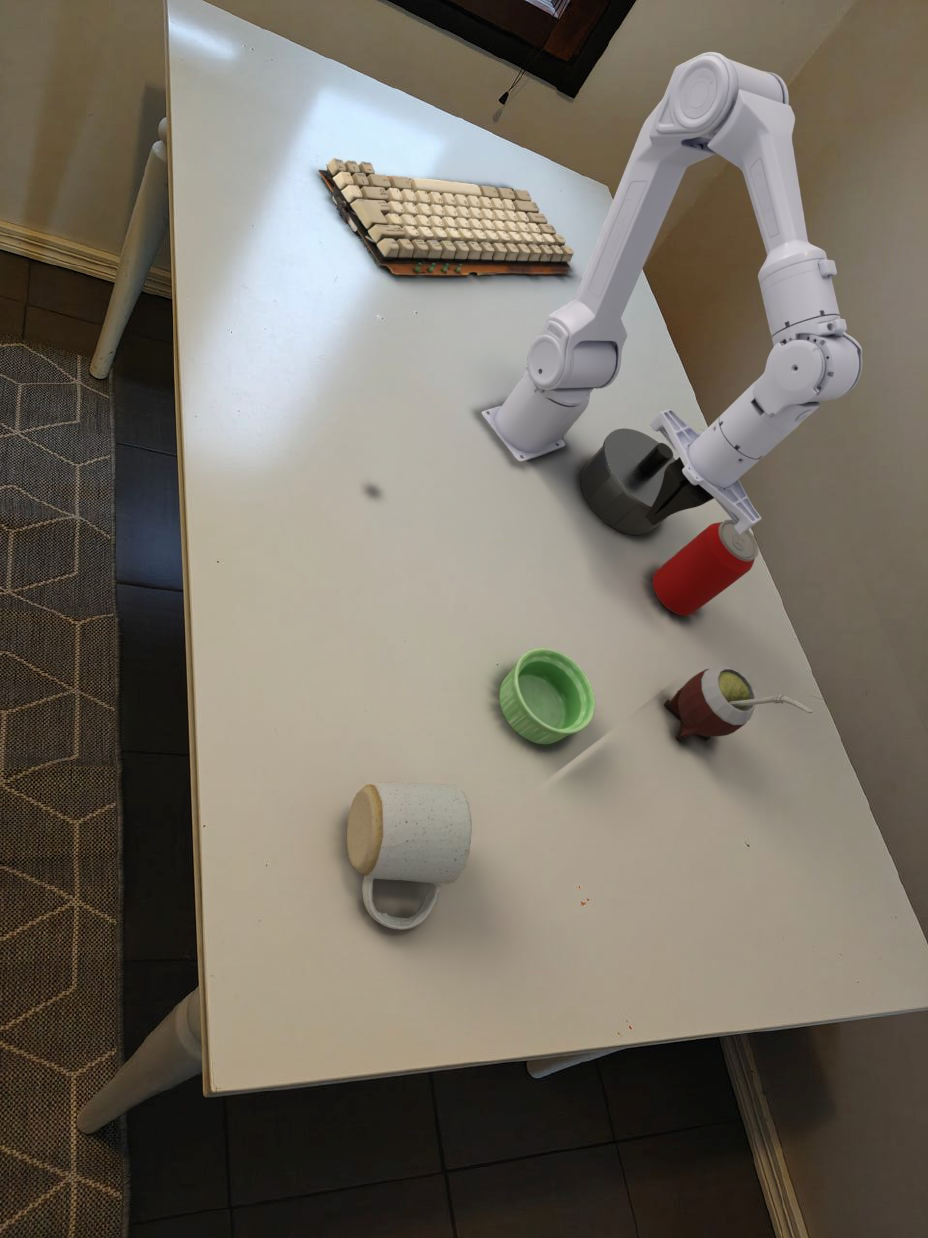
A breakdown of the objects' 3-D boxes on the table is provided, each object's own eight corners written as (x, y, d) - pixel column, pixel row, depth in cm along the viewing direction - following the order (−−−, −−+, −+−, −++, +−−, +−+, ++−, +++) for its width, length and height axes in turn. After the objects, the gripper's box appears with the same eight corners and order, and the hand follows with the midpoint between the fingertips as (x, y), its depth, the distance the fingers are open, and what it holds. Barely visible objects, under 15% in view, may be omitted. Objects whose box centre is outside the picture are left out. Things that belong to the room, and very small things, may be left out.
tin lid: (636, 424, 110) (658, 399, 107) (699, 499, 108) (723, 476, 105) (581, 447, 102) (603, 422, 98) (647, 529, 100) (673, 505, 96)
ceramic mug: (339, 798, 70) (375, 765, 64) (429, 803, 73) (471, 772, 68) (344, 933, 65) (383, 911, 59) (440, 932, 68) (487, 910, 62)
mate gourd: (671, 680, 96) (767, 613, 85) (723, 725, 96) (826, 665, 85) (650, 724, 91) (750, 660, 80) (706, 772, 91) (813, 714, 80)
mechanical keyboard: (509, 189, 137) (520, 170, 134) (573, 276, 132) (585, 259, 130) (310, 174, 113) (319, 151, 110) (379, 280, 108) (390, 259, 106)
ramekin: (476, 705, 81) (499, 685, 78) (519, 651, 87) (542, 630, 84) (545, 769, 81) (571, 751, 78) (584, 711, 87) (609, 692, 84)
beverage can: (696, 590, 106) (765, 535, 97) (689, 628, 102) (761, 575, 93) (652, 561, 105) (719, 504, 96) (644, 599, 101) (712, 542, 92)
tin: (615, 452, 113) (640, 425, 109) (670, 520, 111) (697, 495, 107) (563, 473, 106) (588, 445, 102) (621, 546, 104) (648, 520, 100)
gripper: (673, 386, 80) (591, 475, 90) (772, 505, 78) (676, 583, 88) (709, 373, 85) (627, 460, 95) (804, 486, 82) (710, 562, 93)
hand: (653, 518), depth 92 cm, fingers closed
